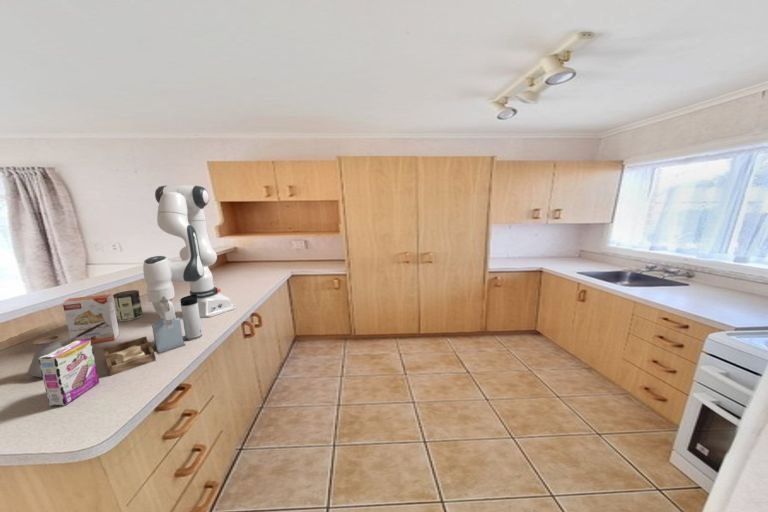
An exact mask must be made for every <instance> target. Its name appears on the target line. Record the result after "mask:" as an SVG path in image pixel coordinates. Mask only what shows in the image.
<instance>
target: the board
mask: <svg viewBox="0 0 768 512" xmlns="http://www.w3.org/2000/svg"><path fill="white" fill-rule="evenodd" d="M151 327H152V328H151V329H152V334H153V341H154V344H155V346H156V348H157V349H156V348H155V349H156V351H157V350H159V349H162V348H165V347H169V346H172V345H175V344H178V343H181V342H184V338H183V332H182V325H181V319H180V317H179V316H176V318H175V320H172V328H170V329H167V328H166V322H165V321H164V320H162V321H161V320H157V321H154V322H151ZM155 346H154V347H155Z"/></svg>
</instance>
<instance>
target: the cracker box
mask: <svg viewBox="0 0 768 512" xmlns="http://www.w3.org/2000/svg"><path fill="white" fill-rule="evenodd" d="M62 307H63V312H64V315H65V320H66V325H67V329H68V333H69V337H70V338H69V339H71V338H73V337H75V336H77V335H78V334H80V333H82V332H84V331H86V330H87V329H89V328H92V327H95V326H96V325H99V324H101V323H103V322H106V323H107V324H106V323H105V324H106V325H108V326H106V325H105V324H103V325H101V326H100V327H97V328H96V329H94V330H92V331H91V332H88V333H86V334H84V335H82V336H80V337H77V338H75V339H74V340H72V341H70V343H72V342H74V341H81V340H91V343H92V345H93V344H98V343H106V342H112V341H115V340H116V339H117V338H119V336H120V329H119V324H118V317H117V312H116V307H115V302H114V297H113V294H112V293H109V294H100V295H99V294H98V295H91V296H90V295H88V296H81V297H79V296H78V297H73V298H71V297H70V298H68V299H66V300H65V301H63V302H62Z"/></svg>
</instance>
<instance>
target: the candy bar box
mask: <svg viewBox="0 0 768 512" xmlns="http://www.w3.org/2000/svg"><path fill="white" fill-rule="evenodd" d="M63 346H64V347H62V348H59V349H57V350H55V351H53V352H51V353H49V354H46V355H44V356H42V357H40V358H38V359H39V363H40V367H41V372H42V376H43V378H42V380H43V383H44V387H45V393H46V396H47V401H48V404H49V405H48V406H49V407H63V406H67V405H69V404H70V403H71V402H73V401H74V400H76V399H77V398H79V397H81V396H82V395H83V394H85V393H86V392H88V391H89V390H91V389H92V388H93V387H95V386H96V385H98V384H100V379H99V374H98V369H97V365H96V360H95V354H94V349H93V344H92V343H91V340H81V341H74V342H69V343H68V344H65V345H63Z"/></svg>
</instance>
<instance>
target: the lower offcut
mask: <svg viewBox="0 0 768 512" xmlns="http://www.w3.org/2000/svg"><path fill="white" fill-rule="evenodd" d="M141 352H142V353H141V354H139V355H137V356H135V357H133V358H131V359H129V360H127V361H130V360H133V359H136V358H139V357H142V356H145V353H144V352H143V351H141ZM125 362H126V361H125ZM115 363H116V365H117V364H120V363H123V362H122V361H118V359H115Z"/></svg>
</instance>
